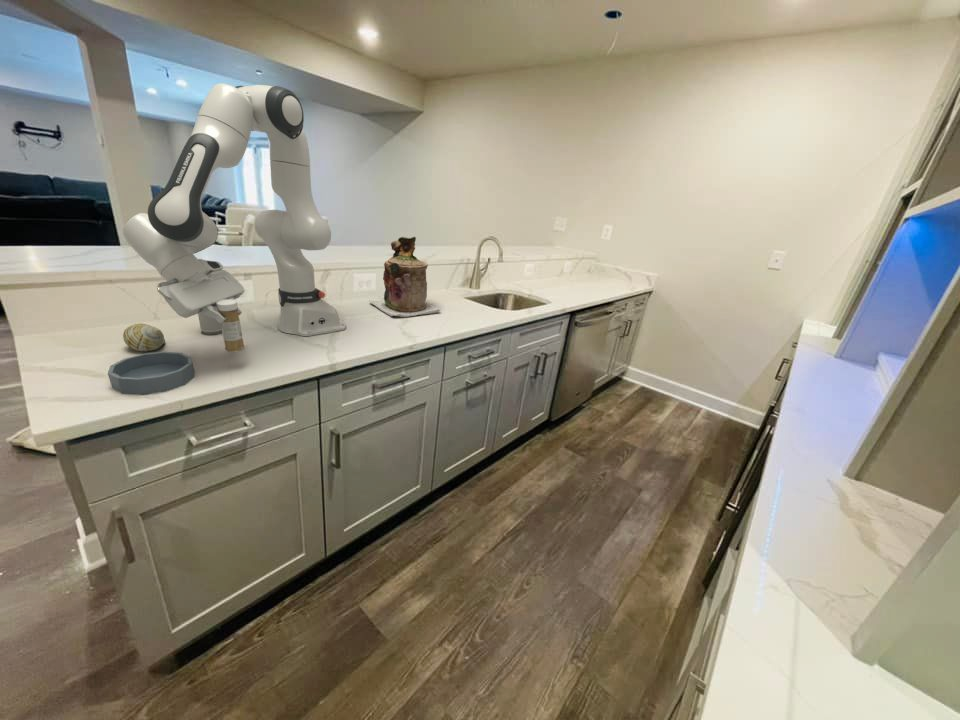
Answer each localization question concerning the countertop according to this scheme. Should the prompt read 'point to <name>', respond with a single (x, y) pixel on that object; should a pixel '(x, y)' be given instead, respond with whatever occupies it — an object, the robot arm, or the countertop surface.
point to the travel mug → (209, 324)
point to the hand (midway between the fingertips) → (231, 317)
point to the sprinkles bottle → (231, 325)
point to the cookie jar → (405, 282)
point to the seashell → (143, 337)
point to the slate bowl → (151, 373)
